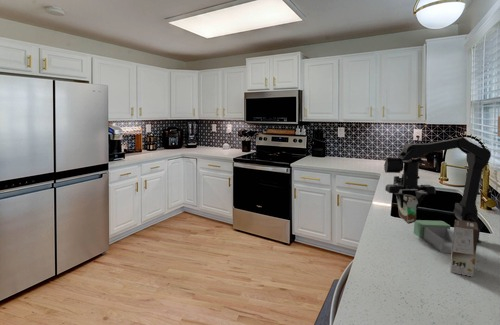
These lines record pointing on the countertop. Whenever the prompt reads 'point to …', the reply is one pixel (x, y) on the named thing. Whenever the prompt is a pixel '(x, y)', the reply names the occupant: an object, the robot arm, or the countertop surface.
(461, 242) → the coffee box
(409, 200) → the food container
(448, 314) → the countertop surface
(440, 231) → the green block on stand
